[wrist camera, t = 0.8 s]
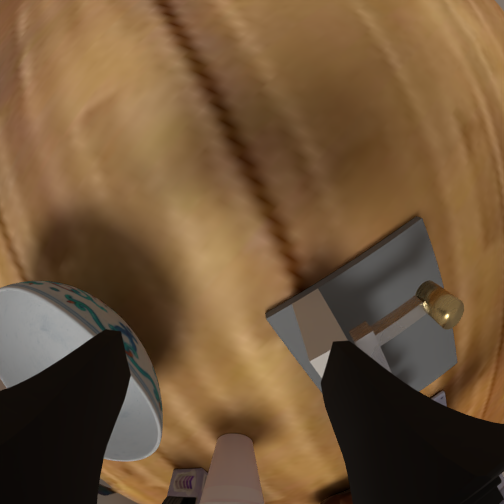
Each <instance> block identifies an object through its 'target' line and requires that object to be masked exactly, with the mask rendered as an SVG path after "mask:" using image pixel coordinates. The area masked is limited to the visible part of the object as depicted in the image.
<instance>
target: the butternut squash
mask: <svg viewBox="0 0 504 504" xmlns="http://www.w3.org/2000/svg"><path fill="white" fill-rule="evenodd" d="M321 504H353V502H352V496H351V490H350V489H348V490H346V491H344V492H341V493H338V494H336V495H333V496H331V497H328V498H326V499H325V500H324V501H322V503H321Z"/></svg>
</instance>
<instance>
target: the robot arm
mask: <svg viewBox="0 0 504 504" xmlns="http://www.w3.org/2000/svg"><path fill="white" fill-rule="evenodd" d="M130 377H131V373H130V369H129V365H128V361H127V357H126V352H125V348H124V343H123V338H122V333H121V331H115V330H109V329H105V330H103V331H102V332H100V333H98V334H97V335H95V336H94V337H93V338H91V339H90V340H88V341H87V342H85V343H84V344H82V345H81V346H80V347H78V348H77V349H75V350H74V351H72V352H71V353H69V354H68V355H66V356H65V357H64V358H62V359H61V360H59V361H57V362H56V363H54V364H53V365H51V366H49V367H48V368H46V369H45V370H43V371H41V372H40V373H38V374H36V375H34V376H33V377H31V378H29V379H27V380H25V381H23V382H21V383H19V384H17V385H14V386H12V387H9V388H7V389H4V390H2V391H0V504H97V495H98V487H99V480H100V474H101V469H102V464H103V459H104V454H105V451H106V448H107V445H108V442H109V439H110V436H111V434H112V431H113V428H114V426H115V423H116V421H117V418H118V416H119V413H120V410H121V408H122V405H123V403H124V400H125V397H126V393H127V389H128V385H129V381H130ZM321 389H322V394H323V399H324V403H325V407H326V410H327V413H328V416H329V419H330V421H331V424H332V427H333V430H334V432H335V435H336V438H337V441H338V443H339V446H340V449H341V452H342V454H343V458H344V461H345V465H346V469H347V474H348V479H349V484H350V490H351V496H352V502H353V504H504V477H503V475H502V472H504V424H499V423H494V422H489V421H485V420H482V419H478V418H475V417H472V416H469V415H466V414H463V413H461V412H458V411H456V410H453V409H451V408H448V407H447V404H446V396H445V392H444V391H441V392H439V393H438V394H437V395H435V396H434V397H433V398H429V397H427V396H425V395H423V394H422V393H420V392H418V391H417V390H415V389H414V388H412V387H411V386H409V385H408V384H406V383H405V382H403V381H402V380H400V379H399V378H397V377H396V376H395V375H393V374H392V373H391V372H389V371H388V370H387V369H385V368H384V367H383V366H381V365H380V364H379V363H378V362H376V361H375V360H374V359H373V358H371V357H370V356H369V355H367V354H366V353H365V352H364V351H362V350H361V349H360V348H358V347H357V346H356V345H354V344H353V343H352V342H350V341H333V343H332V347H331V350H330V354H329V357H328V360H327V364H326V367H325V370H324V373H323V377H322V380H321Z"/></svg>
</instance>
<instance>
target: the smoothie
mask: <svg viewBox="0 0 504 504" xmlns="http://www.w3.org/2000/svg"><path fill="white" fill-rule="evenodd" d="M199 504H264V499H263V494H262V490H261V485H260V480H259V474H258V469H257V464H256V459H255V453H254V448H253V442H252V440H251V439H250V438H249V437H247V436H245V435H242V434H234V433H233V434H225V435H222V436H220V437H219V438H218V439H217V443H216V446H215V450H214V454H213V457H212V461H211V464H210V468H209V472H208V475H207V479H206V482H205V486H204V489H203V492H202V496H201V500H200V503H199Z"/></svg>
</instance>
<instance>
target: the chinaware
mask: <svg viewBox="0 0 504 504" xmlns="http://www.w3.org/2000/svg"><path fill="white" fill-rule="evenodd" d="M105 329H109V330H115V331H121V333H122V338H123V343H124V348H125V352H126V357H127V361H128V365H129V369H130V373H131V377H130V381H129V385H128V389H127V393H126V397H125V400H124V403H123V405H122V408H121V410H120V413H119V416H118V418H117V421H116V423H115V426H114V428H113V431H112V434H111V436H110V439H109V442H108V445H107V448H106V451H105V454H104V459H108V460H114V461H136V460H141V459H144V458H146V457H148V456H150V455H151V454H153V453H154V452H155V451H156V449H157V448H158V446H159V444H160V441H161V437H162V426H163V413H162V401H161V394H160V388H159V384H158V380H157V376H156V373H155V370H154V368H153V365H152V363H151V360H150V358H149V356H148V354H147V352H146V350H145V348H144V347H143V345H142V343H141V342H140V340H139V339H138V337H137V336H136V334H135V333H134V332H133V330H132V329H131V328H130V327H129V326H128V324H127V323H126V322H125V321H124V320H123V319H122V318H121V317H120V316H119V315H118V314H117V313H116V312H115V311H114V310H112V309H111V308H110V307H109V306H108V305H106V304H105V303H103V302H102V301H101V300H99V299H97V298H96V297H94V296H92V295H91V294H89V293H87V292H85V291H83V290H80V289H78V288H75V287H73V286H70V285H66V284H62V283H57V282H50V281H27V282H20V283H15V284H11V285H7V286H4V287H2V288H0V378H1V380H2V381H3V383H4V384H5V386H6V388H9V387H12V386H14V385H17V384H19V383H21V382H23V381H25V380H27V379H29V378H31V377H33V376H34V375H36V374H38V373H40V372H41V371H43V370H45V369H46V368H48V367H49V366H51V365H53V364H54V363H56V362H57V361H59V360H61V359H62V358H64V357H65V356H66V355H68V354H69V353H71V352H72V351H74V350H75V349H77V348H78V347H80V346H81V345H82V344H84V343H85V342H87V341H88V340H90V339H91V338H93V337H94V336H95V335H97V334H98V333H100V332H102V331H103V330H105Z"/></svg>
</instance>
